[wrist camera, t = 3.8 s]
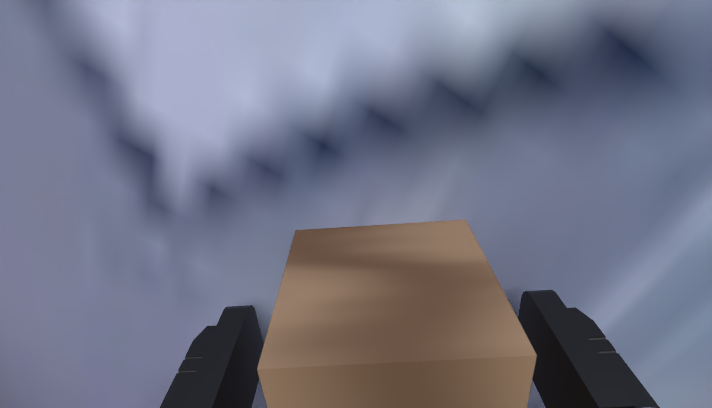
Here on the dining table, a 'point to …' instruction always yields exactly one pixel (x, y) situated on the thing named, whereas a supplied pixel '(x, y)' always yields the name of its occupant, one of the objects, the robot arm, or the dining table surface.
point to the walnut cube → (393, 323)
